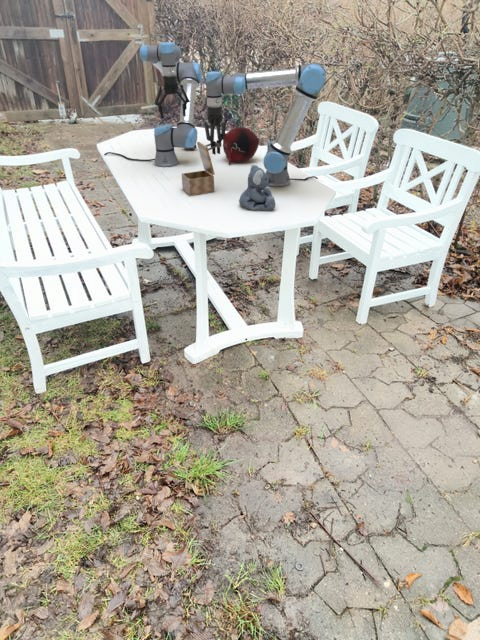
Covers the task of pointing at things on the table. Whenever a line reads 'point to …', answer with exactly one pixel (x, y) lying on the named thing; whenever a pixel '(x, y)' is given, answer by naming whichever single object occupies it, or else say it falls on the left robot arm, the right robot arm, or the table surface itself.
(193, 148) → the rock
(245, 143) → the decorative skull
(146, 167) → the table surface
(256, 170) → the koala plush
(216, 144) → the lid
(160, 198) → the table surface
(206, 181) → the chest
